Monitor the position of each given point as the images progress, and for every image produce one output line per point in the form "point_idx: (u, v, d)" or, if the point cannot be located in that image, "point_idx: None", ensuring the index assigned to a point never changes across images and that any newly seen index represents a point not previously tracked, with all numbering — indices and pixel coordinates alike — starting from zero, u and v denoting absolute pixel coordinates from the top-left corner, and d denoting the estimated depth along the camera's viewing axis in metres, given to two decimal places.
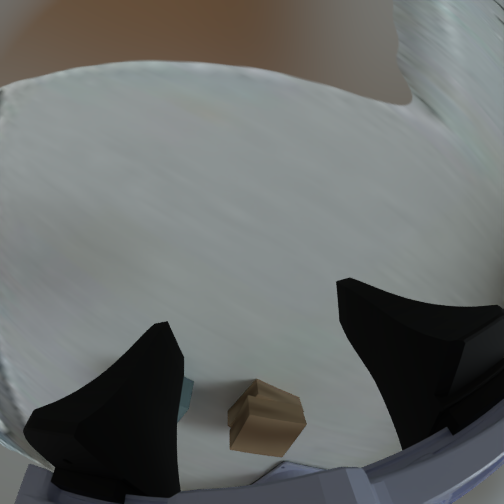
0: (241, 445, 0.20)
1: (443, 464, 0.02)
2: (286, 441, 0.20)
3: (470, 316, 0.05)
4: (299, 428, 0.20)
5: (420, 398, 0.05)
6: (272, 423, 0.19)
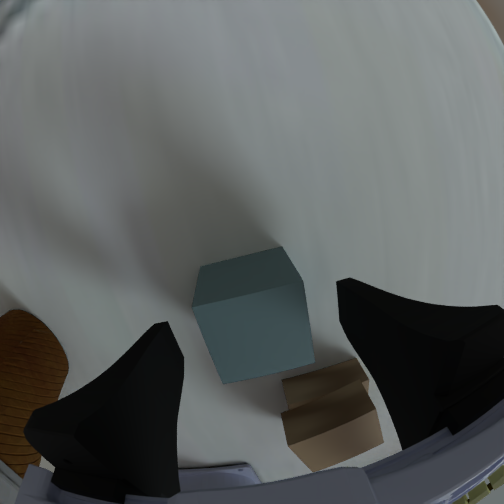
0: (309, 445, 0.12)
1: (443, 464, 0.02)
2: (346, 455, 0.13)
3: (470, 316, 0.05)
4: (374, 445, 0.13)
5: (420, 398, 0.05)
6: (371, 429, 0.12)
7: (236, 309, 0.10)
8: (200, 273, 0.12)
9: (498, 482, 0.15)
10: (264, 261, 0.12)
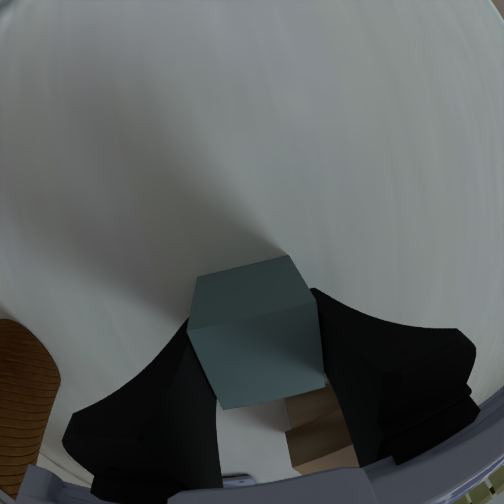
0: (315, 465, 0.11)
1: (443, 464, 0.02)
2: None
3: (422, 341, 0.05)
4: None
5: (366, 422, 0.05)
6: None
7: (238, 333, 0.08)
8: (197, 286, 0.11)
9: (501, 487, 0.14)
10: (270, 274, 0.11)
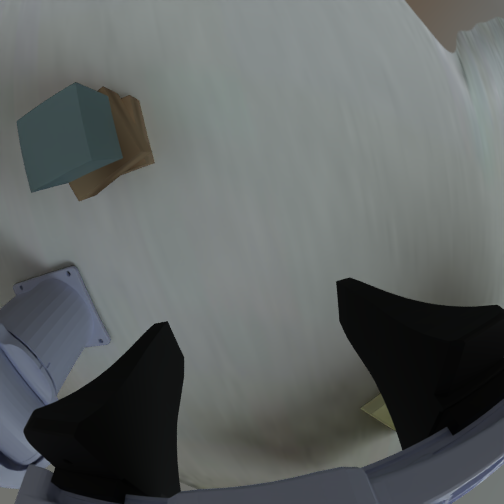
0: None
1: (443, 464, 0.02)
2: None
3: (470, 316, 0.05)
4: (128, 153, 0.14)
5: (420, 398, 0.05)
6: None
7: (37, 115, 0.09)
8: None
9: None
10: None
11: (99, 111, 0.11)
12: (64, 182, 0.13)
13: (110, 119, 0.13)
